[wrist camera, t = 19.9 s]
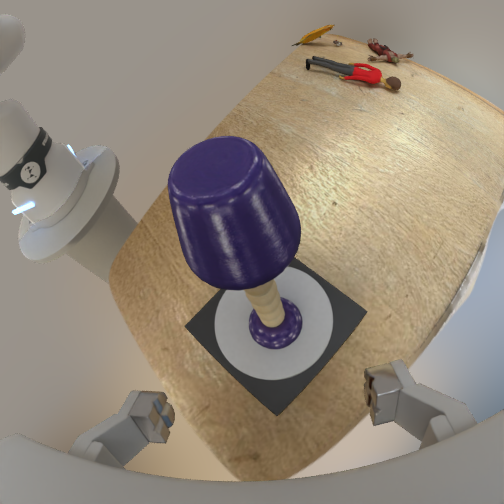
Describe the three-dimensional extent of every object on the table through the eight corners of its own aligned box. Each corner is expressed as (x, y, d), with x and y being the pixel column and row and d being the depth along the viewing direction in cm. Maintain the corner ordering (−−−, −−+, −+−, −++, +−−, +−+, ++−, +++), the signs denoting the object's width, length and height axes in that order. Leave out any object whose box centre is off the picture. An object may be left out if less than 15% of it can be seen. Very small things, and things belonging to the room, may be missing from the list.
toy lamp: (243, 299, 24) (142, 145, 9) (298, 284, 23) (269, 103, 9) (255, 355, 21) (134, 263, 7) (313, 340, 21) (321, 209, 6)
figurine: (393, 37, 45) (419, 53, 40) (393, 47, 48) (419, 64, 42) (349, 40, 47) (372, 56, 42) (350, 51, 50) (373, 69, 44)
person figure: (308, 78, 47) (397, 103, 40) (302, 65, 44) (397, 91, 36) (317, 61, 47) (404, 84, 39) (312, 48, 43) (404, 71, 36)
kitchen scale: (194, 331, 27) (179, 322, 24) (271, 252, 29) (266, 233, 26) (280, 413, 22) (275, 417, 19) (361, 320, 24) (369, 309, 21)
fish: (336, 21, 46) (327, 20, 43) (341, 29, 46) (332, 28, 44) (297, 42, 55) (286, 42, 53) (301, 48, 56) (290, 49, 53)
